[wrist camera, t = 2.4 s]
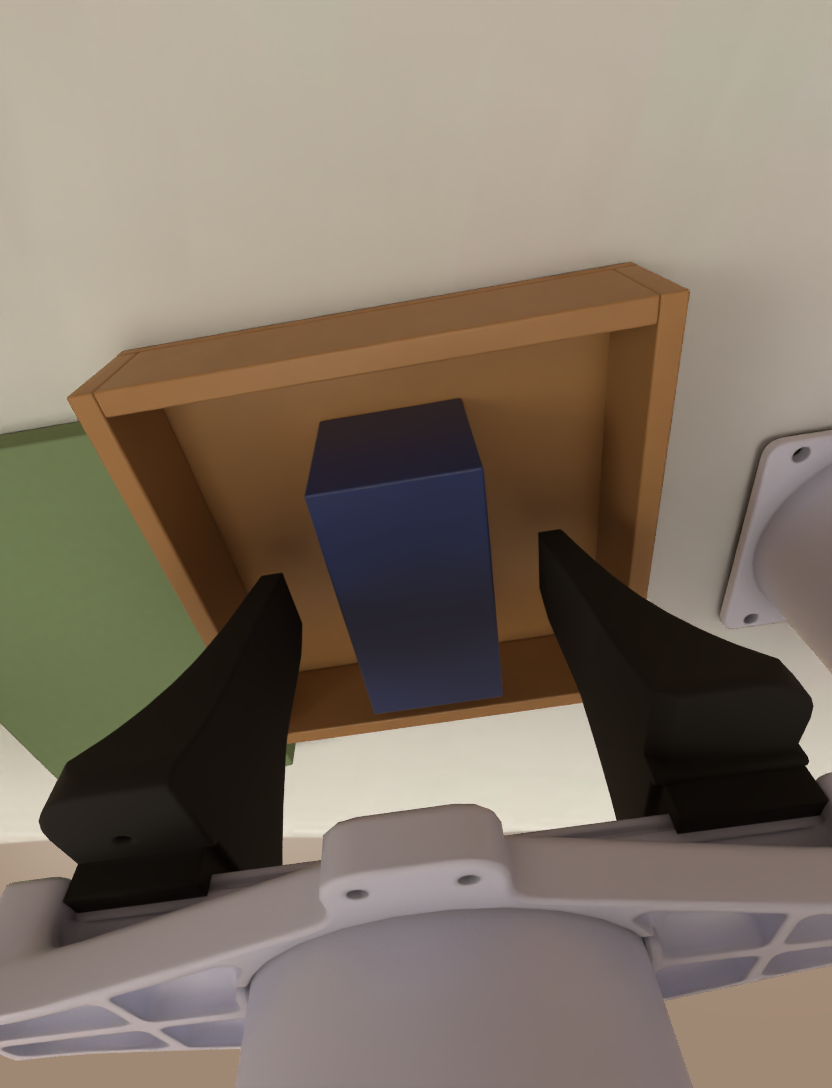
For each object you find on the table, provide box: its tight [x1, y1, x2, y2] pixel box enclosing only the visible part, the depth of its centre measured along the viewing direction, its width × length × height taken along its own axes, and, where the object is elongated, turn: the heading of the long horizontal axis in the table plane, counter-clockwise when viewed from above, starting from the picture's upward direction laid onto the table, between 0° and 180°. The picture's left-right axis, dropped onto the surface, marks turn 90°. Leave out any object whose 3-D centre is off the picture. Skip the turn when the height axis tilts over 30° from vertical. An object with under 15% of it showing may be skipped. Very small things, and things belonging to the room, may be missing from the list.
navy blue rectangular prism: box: [304, 399, 503, 714], centre depth 16 cm, size 4×8×4 cm, turn 9°
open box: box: [67, 262, 690, 744], centre depth 16 cm, size 13×13×3 cm
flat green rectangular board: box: [0, 422, 295, 779], centre depth 20 cm, size 10×16×1 cm, turn 9°
